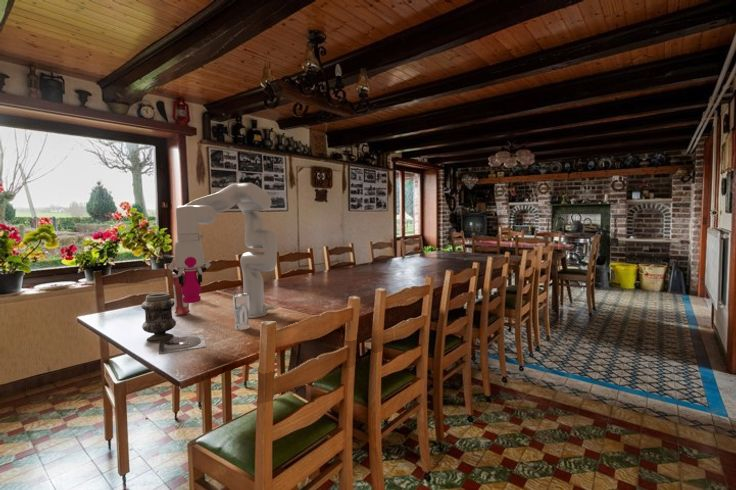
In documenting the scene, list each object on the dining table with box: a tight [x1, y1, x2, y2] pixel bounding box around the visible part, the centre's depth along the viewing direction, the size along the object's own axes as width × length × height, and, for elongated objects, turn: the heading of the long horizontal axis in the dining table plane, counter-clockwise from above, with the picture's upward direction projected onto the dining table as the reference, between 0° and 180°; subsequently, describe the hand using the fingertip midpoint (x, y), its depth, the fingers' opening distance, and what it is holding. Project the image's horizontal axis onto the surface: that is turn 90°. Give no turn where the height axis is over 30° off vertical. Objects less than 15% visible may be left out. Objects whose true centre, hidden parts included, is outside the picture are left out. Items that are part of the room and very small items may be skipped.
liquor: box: [171, 268, 191, 317], centre depth 193 cm, size 7×7×28 cm
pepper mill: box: [181, 257, 202, 304], centre depth 149 cm, size 7×7×20 cm
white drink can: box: [232, 292, 250, 331], centre depth 170 cm, size 7×7×15 cm
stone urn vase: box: [141, 292, 177, 343], centre depth 157 cm, size 12×12×18 cm
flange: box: [158, 334, 207, 355], centre depth 151 cm, size 16×16×1 cm
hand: (190, 284), depth 149 cm, fingers closed on pepper mill, 5 cm apart
